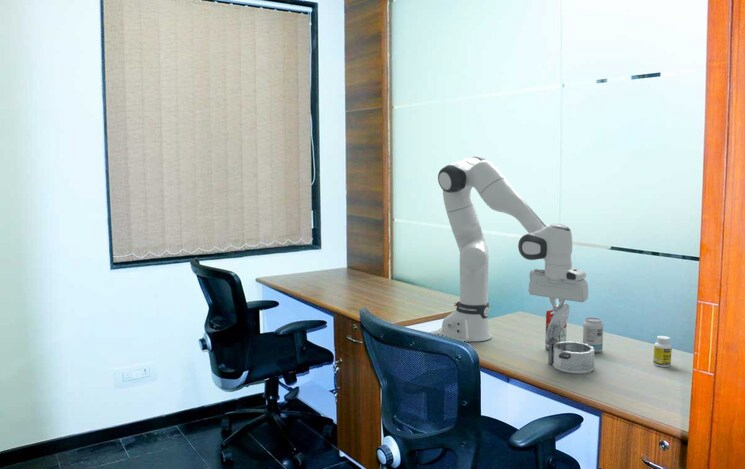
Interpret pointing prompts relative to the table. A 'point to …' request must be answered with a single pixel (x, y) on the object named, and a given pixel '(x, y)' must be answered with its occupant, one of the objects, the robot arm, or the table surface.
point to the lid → (557, 323)
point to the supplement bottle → (662, 352)
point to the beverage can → (593, 333)
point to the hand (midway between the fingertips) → (557, 310)
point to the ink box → (562, 335)
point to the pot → (571, 357)
